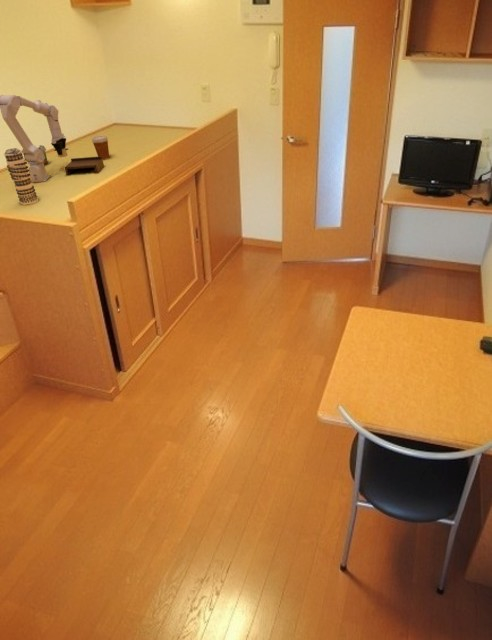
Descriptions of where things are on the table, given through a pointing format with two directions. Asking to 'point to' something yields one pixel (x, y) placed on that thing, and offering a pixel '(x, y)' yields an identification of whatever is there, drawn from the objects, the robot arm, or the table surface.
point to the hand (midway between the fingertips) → (62, 153)
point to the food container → (43, 153)
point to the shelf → (85, 164)
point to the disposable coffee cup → (101, 146)
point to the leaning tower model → (20, 176)
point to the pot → (63, 152)
